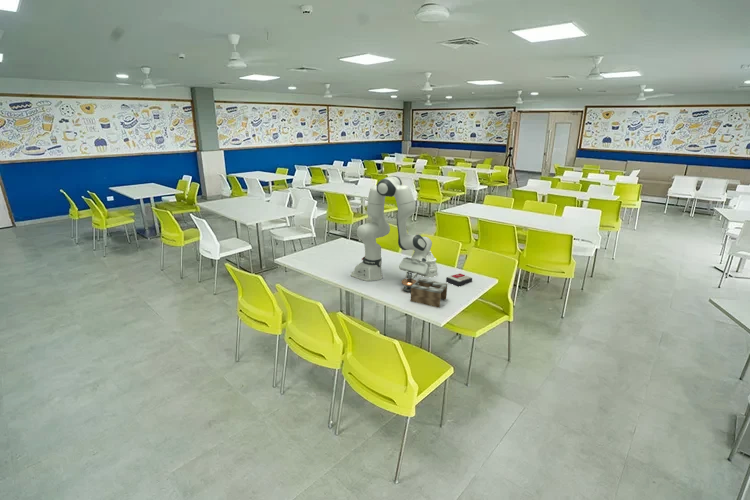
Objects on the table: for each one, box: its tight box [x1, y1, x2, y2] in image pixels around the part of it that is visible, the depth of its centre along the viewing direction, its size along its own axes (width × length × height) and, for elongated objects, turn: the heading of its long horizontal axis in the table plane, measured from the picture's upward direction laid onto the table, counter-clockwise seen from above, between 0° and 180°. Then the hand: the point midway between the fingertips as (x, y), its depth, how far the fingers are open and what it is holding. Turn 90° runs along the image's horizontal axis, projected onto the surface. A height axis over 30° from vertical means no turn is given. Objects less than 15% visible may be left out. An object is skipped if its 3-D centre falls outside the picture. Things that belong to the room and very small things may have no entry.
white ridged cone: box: [421, 250, 438, 278], centre depth 272 cm, size 13×13×18 cm
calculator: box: [445, 273, 473, 287], centre depth 262 cm, size 11×4×15 cm
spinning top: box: [401, 272, 417, 293], centre depth 244 cm, size 10×10×12 cm
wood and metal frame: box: [410, 277, 448, 308], centre depth 231 cm, size 18×14×10 cm
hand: (409, 278), depth 243 cm, fingers closed on spinning top, 3 cm apart
